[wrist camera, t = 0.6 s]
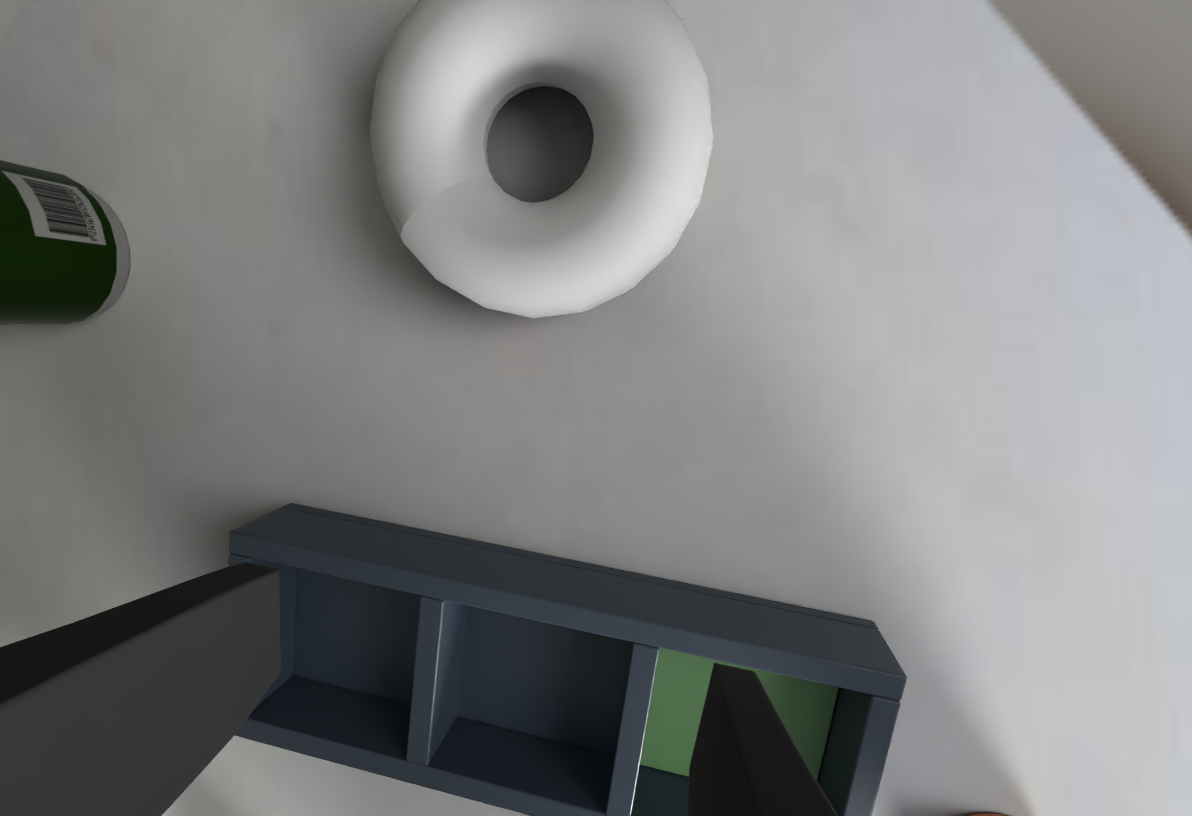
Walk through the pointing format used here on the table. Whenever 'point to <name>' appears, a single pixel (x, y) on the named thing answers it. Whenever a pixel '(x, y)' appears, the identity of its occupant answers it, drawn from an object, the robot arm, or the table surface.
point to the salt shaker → (987, 814)
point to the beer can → (56, 249)
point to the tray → (543, 670)
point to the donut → (610, 180)
